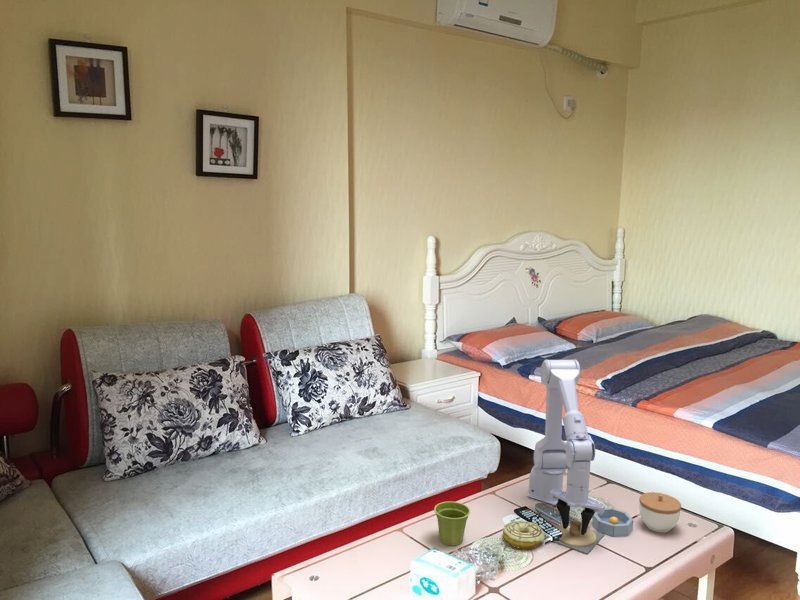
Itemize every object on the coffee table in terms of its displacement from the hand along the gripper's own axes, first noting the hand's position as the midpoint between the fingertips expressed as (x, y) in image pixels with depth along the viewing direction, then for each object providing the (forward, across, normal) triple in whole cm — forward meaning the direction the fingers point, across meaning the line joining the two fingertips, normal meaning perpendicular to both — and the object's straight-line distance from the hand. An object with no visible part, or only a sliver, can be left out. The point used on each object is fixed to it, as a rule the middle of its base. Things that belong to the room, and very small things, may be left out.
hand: (574, 530), depth 175 cm
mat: (+2, 0, 0) cm, 2 cm away
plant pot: (+2, -25, -22) cm, 33 cm away
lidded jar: (+2, +16, +20) cm, 26 cm away
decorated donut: (+2, -10, -10) cm, 14 cm away
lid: (+2, 0, 0) cm, 2 cm away
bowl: (+2, +6, +12) cm, 14 cm away
